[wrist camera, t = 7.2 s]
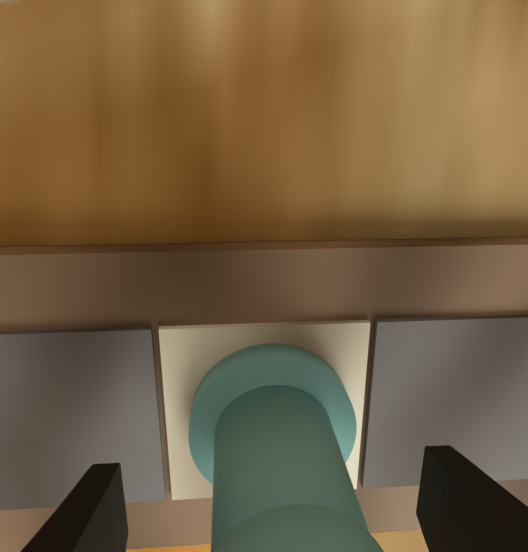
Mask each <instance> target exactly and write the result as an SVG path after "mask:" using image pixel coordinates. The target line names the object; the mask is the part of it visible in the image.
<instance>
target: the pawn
mask: <svg viewBox="0 0 528 552" xmlns="http://www.w3.org/2000/svg"><path fill="white" fill-rule="evenodd" d="M356 432H357V423H356V416H355V412H354V409H353V406H352V403H351V401H350V399H349V396H348V394H347V392H346V390H345V387H344V385H343V383H342V381H341V379H340V377H339V376H338V374H337V373H336V371H335V370H334V369H333V368H332V367H331V366H330V365H329V364H328V363H327V362H326V361H325V360H324V359H322V358H321V357H320V356H318V355H316V354H314V353H313V352H311V351H308V350H306V349H303V348H301V347H297V346H293V345H287V344H276V343H269V344H259V345H255V346H250V347H247V348H244V349H241V350H238V351H236V352H234V353H232V354H230V355H228V356H227V357H225V358H224V359H222V360H220V361H219V362H218V363H217V364H216V365H214V366H213V367H212V368H211V369H210V370H209V371H208V373H207V374H206V375H205V376H204V378H203V379H202V380H201V382H200V384H199V386H198V388H197V390H196V392H195V395H194V398H193V401H192V407H191V415H190V423H189V436H188V441H189V448H190V452H191V455H192V459H193V461H194V463H195V465H196V467H197V468H198V470H199V471H200V473H201V474H202V475H203V476H204V477H205V478H206V480H207V481H208V482H210V483H211V484H212V485H213V504H212V534H211V552H384V551H383V550H382V548H381V547H380V545H379V544H378V543H377V542H376V540H375V539H374V538H373V537H372V536H371V535H370V533H369V530H368V527H367V525H366V522H365V519H364V516H363V513H362V510H361V507H360V504H359V502H358V499H357V496H356V493H355V490H354V487H353V484H352V481H351V479H350V476H349V473H348V470H347V467H346V464H345V463H346V461H347V460H348V458H349V456H350V454H351V452H352V450H353V446H354V443H355V439H356Z"/></svg>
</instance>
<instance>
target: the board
mask: <svg viewBox="0 0 528 552" xmlns="http://www.w3.org/2000/svg"><path fill="white" fill-rule="evenodd" d="M269 343H276V344H287V345H293V346H297V347H301V348H303V349H306V350H308V351H311V352H313V353H314V354H316V355H318V356H320V357H321V358H322V359H324V360H325V361H326V362H327V363H328V364H329V365H330V366H331V367H332V368H333V369H334V370H335V371H336V373H337V374H338V376H339V377H340V379H341V381H342V383H343V385H344V387H345V390H346V392H347V394H348V396H349V399H350V401H351V403H352V406H353V409H354V412H355V416H356V423H357V432H356V439H355V443H354V446H353V450H352V452H351V454H350V456H349V458H348V460H347V461H346V463H345V464H346V467H347V470H348V473H349V476H350V479H351V481H352V484H353V487H354V490H355V493H356V496H357V499H358V502H359V504H360V507H361V510H362V513H363V516H364V519H365V522H366V525H367V527H368V530H369V533H378V532H393V531H408V530H421V527H420V524H419V521H418V518H417V515H416V508H417V500H418V493H419V486H420V479H421V471H422V464H423V457H424V450H425V446H441V445H450V446H451V447H453V448H454V449H455V450H457V451H458V452H459V453H461V454H462V455H463V456H464V457H466V458H467V459H468V460H470V461H471V462H472V463H473V464H475V465H476V466H477V467H478V468H480V469H481V470H482V471H483V472H484V473H486V474H487V475H488V476H489V477H491V478H492V479H493V480H494V481H496V482H497V483H498V484H499V485H501V486H502V487H503V488H505V489H506V490H507V491H508V492H510V493H511V494H512V495H513V496H515V497H516V498H517V499H519V500H520V501H521V502H522V503H524V504H525V505H526V506H528V237H505V238H452V239H398V240H345V241H292V242H239V243H186V244H132V245H79V246H26V247H0V552H20V551H21V550H22V549H23V548H24V547H25V546H26V545H27V543H28V542H29V541H30V540H31V539H32V538H33V536H34V535H35V534H36V533H37V532H38V530H39V529H40V528H41V527H42V526H43V525H44V523H45V522H46V521H47V520H48V519H49V518H50V516H51V515H52V514H53V513H54V511H55V510H56V509H57V508H58V507H59V505H60V504H61V503H62V502H63V500H64V499H65V498H66V497H67V495H68V494H69V493H70V492H71V490H72V489H73V488H74V487H75V485H76V484H77V483H78V481H79V480H80V479H81V478H82V476H83V475H84V474H85V472H86V471H87V470H88V469H89V468H90V467H91V466H92V465H93V464H104V463H120V465H121V473H122V481H123V490H124V498H125V506H126V514H127V523H128V531H129V532H128V538H127V545H126V549H140V548H155V547H170V546H185V545H199V544H211V534H212V504H213V485H212V484H211V483H210V482H208V481H207V480H206V478H205V477H204V476H203V475H202V474H201V473H200V471H199V470H198V468H197V467H196V465H195V463H194V461H193V459H192V455H191V452H190V448H189V441H188V436H189V423H190V415H191V407H192V401H193V398H194V395H195V392H196V390H197V388H198V386H199V384H200V382H201V380H202V379H203V378H204V376H205V375H206V374H207V373H208V371H209V370H210V369H211V368H212V367H213V366H214V365H216V364H217V363H218V362H219V361H220V360H222V359H224V358H225V357H227V356H228V355H230V354H232V353H234V352H236V351H238V350H241V349H244V348H247V347H250V346H255V345H259V344H269Z"/></svg>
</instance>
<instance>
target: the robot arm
mask: <svg viewBox="0 0 528 552" xmlns="http://www.w3.org/2000/svg"><path fill="white" fill-rule="evenodd" d="M416 515H417V518H418V521H419V524H420V527H421V530H422V533H423V536H424V539H425V541H426V544H427V547H428V549H429V552H528V506H526V505H525V504H524V503H522V502H521V501H520V500H519V499H517V498H516V497H515V496H513V495H512V494H511V493H510V492H508V491H507V490H506V489H505V488H503V487H502V486H501V485H499V484H498V483H497V482H496V481H494V480H493V479H492V478H491V477H489V476H488V475H487V474H486V473H484V472H483V471H482V470H481V469H480V468H478V467H477V466H476V465H475V464H473V463H472V462H471V461H470V460H468V459H467V458H466V457H464V456H463V455H462V454H461V453H459V452H458V451H457V450H455V449H454V448H453V447H451V446H450V445H441V446H425V450H424V457H423V464H422V471H421V479H420V486H419V493H418V500H417V508H416ZM128 532H129V531H128V523H127V514H126V506H125V498H124V490H123V481H122V473H121V465H120V463H104V464H93V465H92V466H91V467H90V468H89V469H88V470H87V471H86V472H85V474H84V475H83V476H82V478H81V479H80V480H79V481H78V483H77V484H76V485H75V487H74V488H73V489H72V490H71V492H70V493H69V494H68V495H67V497H66V498H65V499H64V500H63V502H62V503H61V504H60V505H59V507H58V508H57V509H56V510H55V511H54V513H53V514H52V515H51V516H50V518H49V519H48V520H47V521H46V522H45V523H44V525H43V526H42V527H41V528H40V529H39V530H38V532H37V533H36V534H35V535H34V536H33V538H32V539H31V540H30V541H29V542H28V543H27V545H26V546H25V547H24V548H23V549H22V550H21V551H20V552H125V551H126V545H127V538H128Z"/></svg>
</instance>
